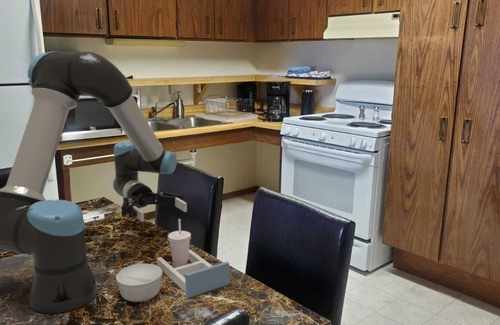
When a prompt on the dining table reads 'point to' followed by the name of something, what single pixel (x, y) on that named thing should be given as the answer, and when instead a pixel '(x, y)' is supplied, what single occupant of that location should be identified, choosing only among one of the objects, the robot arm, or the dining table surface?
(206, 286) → the drawer frame
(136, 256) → the dining table surface
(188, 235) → the smoothie
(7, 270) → the dining table surface
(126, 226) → the dining table surface
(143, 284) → the ramekin
